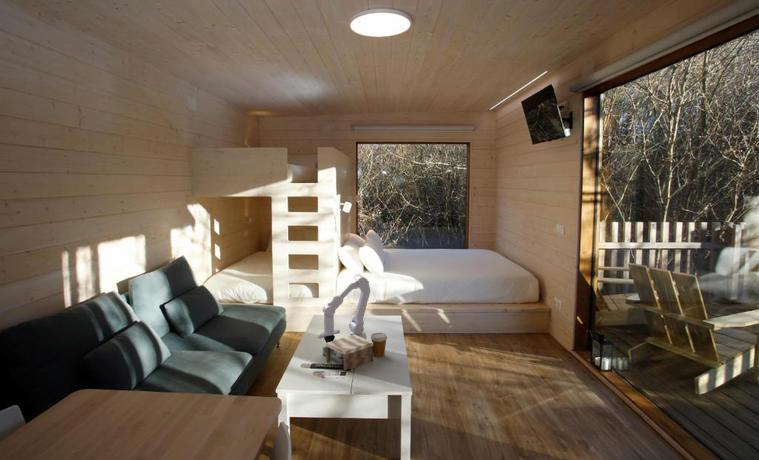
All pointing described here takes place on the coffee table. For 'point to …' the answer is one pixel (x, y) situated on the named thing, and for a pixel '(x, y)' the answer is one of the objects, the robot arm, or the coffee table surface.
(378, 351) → the disposable coffee cup
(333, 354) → the tray
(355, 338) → the wooden slatted crate
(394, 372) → the coffee table surface
